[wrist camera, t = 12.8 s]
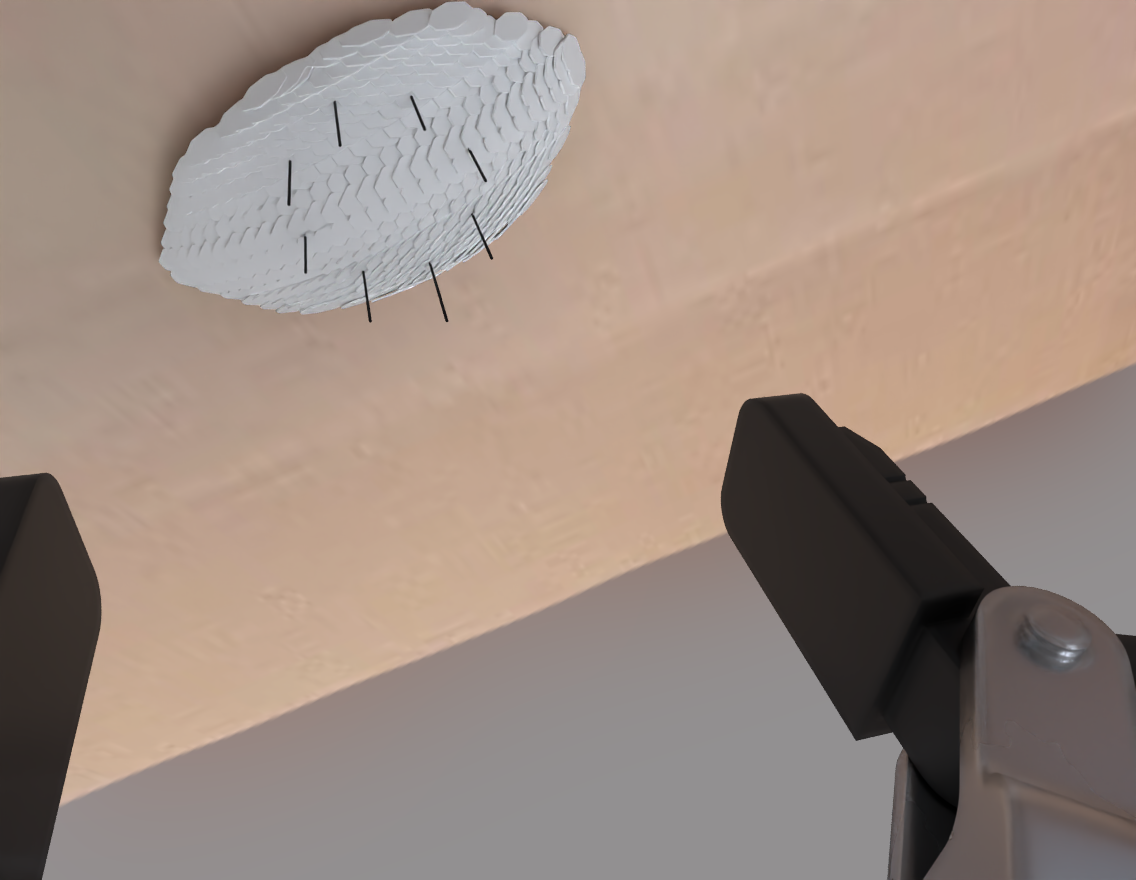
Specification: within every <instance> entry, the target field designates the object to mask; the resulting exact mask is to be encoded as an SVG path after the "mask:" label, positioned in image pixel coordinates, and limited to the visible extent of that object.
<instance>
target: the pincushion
mask: <svg viewBox="0 0 1136 880" xmlns="http://www.w3.org/2000/svg"><path fill="white" fill-rule="evenodd" d="M585 78H586V72H585V60H584V57H583V54H582V52H581V51H580V46H579V43H578V41H577V38H576V37H574V36H573V35H571V34H567V35H566V37H564V35H563V33H562V32H561V30H560V29H558V28H555V27H551V26H548V27H547V28H545V29H544V30H543V27H542V26H541V25H540V24H539V23H538V22H537V21H535V20H527V17H526V16H524V15H523V14H522V13H521V12H505V13H504V14H503V15H502V16H501V17H500V18H499V19H497V20H495V19H494V18H493V17H492V16H491V15H487V13H485V12H484V11H483V10H482V9H480V8H472V7H471V6H470V5H468V4H467V3H466V2H465V1H461V2H446V3H444V4H442V5H441V6H439V7H437V8H436V9H434V10H431V9H429V8H428V9H420V10H413V11H409V12H407V13H405V14H403V15H401V16H400V17H398V18H396V19H394V21H392V20H391V19H379V20H370V21H368V22H365V23H363V24H360V25H358V26H355V27H353V28H351V29H350V30H349V31H348V32H345V33H343V34H341V35H338V36H336V37H334V38H332V39H331V40H330V41H329V42H327V43H325V44H322V45H320V46H318V47H317V48H316V49H315V50H314V51H313V52H312V53H311V54H310V55H308V56H307V57H305V58H302V59H299V60H296V61H293V62H292V63H290V64H288V65H284V66H283V67H282V68H281V69H279V70H278V71H277V72H274V73H270V74H266V75H265V76H263V77H262V78H261V79H260V80H258V81H257V82H256V83H254V84H253V85H252V86H251V87H249V89H248V90H247V92H246V94H245V95H244V97H243V99H241V100H239V101H238V102H237V103H236V104H234V105H233V106H232V107H231V108H230V109H229V110H227V111H226V112H225V113H224V114H223V116H222V119H221V121H220V123H219V124H217V125H216V126H215V127H212V128H206V129H205V130H203V131H202V132H201V133H200V134H199V135H197V136H196V137H195V138H194V139H193V140H192V141H191V142H190V145H189V147H188V150H187V152H186V154H185V155H184V156H183V157H181V158H180V159H179V161H178V163H177V165H176V167H175V169H174V171H173V173H172V176H173V178H174V179H173V182H172V184H171V186H170V189H169V190H170V192H171V194H172V195H171V197H170V199H169V202H168V204H167V209H168V212H167V215H166V217H165V220H164V222H163V224H164V225H165V227H166V230H165V233H164V235H163V238H162V241H161V244H162V246H163V247H164V249H163V250H162V253H161V256H160V259H159V263H160V264H161V265H162V266H163V267H164V268H165V270H169V271H172V272H171V274H170V275H171V277H172V278H173V279H174V280H175V281H176V282H177V283H179V284H183V285H187V286H190V287H194V288H195V287H197V288H198V289H199V290H200V291H201V292H208V293H214V294H220V295H221V296H222V297H224V298H227V299H240V300H241V302H242V303H243V304H245V305H260V307H261V308H262V309H277V310H276V312H278V313H288V312H296V311H300V313H301V314H312V313H320V312H324V311H328V310H332V309H336V308H338V307H341V308H342V309H345V308H348V307H352V306H356V305H359V304H362V303H364V302H366V304H367V311H368V318H369V322H372V320H371V313H370V306H369V301H370V300H372V302H375V301H378V300H381V299H383V298H386V297H389V296H391V295H394V294H397V293H399V292H402V291H404V290H407V289H410V288H412V287H415V286H416V285H417V284H420V283H422V282H424V281H427V280H429V279H432V278H433V280H434V283H435V287H436V290H437V294H438V297H439V300H440V304H441V307H442V311H443V314H444V317H445V321H446V322H448V318H447V314H446V311H445V308H444V304H443V301H442V298H441V294H440V291H439V288H438V284H437V281H436V278H435V277H436V276H438V275H440V274H441V273H442V272H444V271H445V270H446V269H447V270H446V271H448V270H450V269H451V268H453V267H454V266H455V265H457V264H458V263H460V262H461V261H463V263H464V262H465V261H467V260H468V259H470V258H471V257H473V256H474V255H476V254H477V253H478V252H480V251H481V250H482V249H484V248H486V250H487V252H488V254H489V257H490V259H491V260H492V259H493V257H492V254H491V252H490V250H489V248H488V245H489V244H490V243H491V242H492V241H494V240H495V239H496V240H497V239H498V238H499V237H500V236H501V235H502V234H503V233H504V232H505V231H506V230H507V229H508V228H509V227H510V226H511V224H512V223H513V222H514V221H515V220H516V219H517V218H518V217H519V215H522V214H523V213H524V212H525V211H526V210H527V209H528V208H529V207H530V206H531V204H532V203H533V202H534V201H535V199H536V198H537V197H538V195H539V194H540V192H541V191H542V190H543V188H544V187H545V185H546V184H547V181H548V179H546V180H545V178H546V177H547V175H548V174H549V172H550V170H551V168H552V166H553V165H550V163H551V162H552V160H553V159H554V158H555V157H556V155H557V154H558V153H559V151H560V150H561V148H562V146H563V144H564V142H565V140H566V138H567V136H568V134H569V132H570V128H571V126H568V125H569V123H570V120H571V117H572V115H573V113H574V111H575V108H576V106H577V104H578V102H579V96H580V91H581V86H582V84H583V82H584V80H585ZM549 165H550V166H549ZM544 180H545V181H544ZM543 181H544V182H543ZM507 223H508V224H507ZM506 224H507V225H506ZM505 225H506V226H505ZM504 226H505V227H504ZM503 227H504V228H503ZM502 228H503V229H502ZM501 229H502V230H501ZM500 230H501V232H500V233H498V232H499V231H500ZM494 232H495V233H494ZM493 233H494V234H493ZM492 234H493V235H492ZM491 235H492V236H491ZM490 236H491V237H490ZM489 237H490V238H489ZM488 238H489V239H488ZM487 239H488V240H487ZM486 240H487V241H486ZM440 270H441V271H440ZM438 271H440V272H439V273H437V272H438ZM435 273H437V274H435ZM426 277H427V278H426ZM397 289H398V290H397ZM395 290H396V291H395ZM392 291H395V292H393V293H390V292H392ZM388 293H390V294H388ZM385 294H388V295H385ZM383 295H385V296H383ZM380 296H383V297H380ZM378 297H380V298H378ZM375 298H378V299H375ZM373 299H375V300H373Z"/></svg>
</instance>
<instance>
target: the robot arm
mask: <svg viewBox="0 0 1136 880" xmlns="http://www.w3.org/2000/svg"><path fill="white" fill-rule="evenodd" d="M721 509H722V515H723V520H724V523H725V526H726V529H727V531H728V534H729V536H730V537H731V539H732V541H733V542H734V544H735V546H736V547H737V549H738V550H739V552H740V553H741V555H742V557H743V559H744V560H745V562H746V563H747V565H748V567H749V568H750V570H751V571H752V573H753V575H754V576H755V578H756V579H757V581H758V582H759V584H760V586H761V587H762V589H763V591H764V593H765V594H766V596H767V597H768V599H769V601H770V602H771V604H772V605H773V607H774V609H775V610H776V612H777V614H778V615H779V617H780V618H781V620H782V622H783V623H784V625H785V627H786V628H787V630H788V631H789V633H790V634H791V636H792V638H793V639H794V641H795V643H796V644H797V646H798V647H799V649H800V651H801V652H802V654H803V656H804V657H805V659H806V661H807V662H808V664H809V665H810V667H811V669H812V670H813V671H814V673H815V675H816V677H817V678H818V680H819V681H820V683H821V685H822V686H823V688H824V690H825V691H826V693H827V694H828V696H829V698H830V699H831V701H832V703H833V704H834V706H835V707H836V709H837V711H838V712H839V714H840V716H841V717H842V719H843V720H844V722H845V724H846V725H847V727H848V728H849V730H850V732H851V733H852V735H853V737H854V738H855V740H856V741H857V740H861V739H866V738H870V737H875V736H879V735H883V734H888V733H892V732H893V733H894V735H895V736H896V738H897V739H898V741H899V742H900V744H901V745H902V747H903V750H902V751H901V754H900V756H899V758H898V760H897V764H896V772H895V785H894V799H893V812H892V824H891V838H890V852H889V864H888V878H887V880H1136V636H1131V635H1121V634H1115V633H1114V632H1113V631H1112V630H1111V629H1110V628H1109V627H1108V626H1107V625H1106V624H1105V623H1104V622H1103V621H1102V620H1100V619H1099V618H1098V617H1097V616H1096V615H1094V614H1093V613H1091V612H1090V611H1088V610H1087V609H1085V608H1084V607H1083V606H1081V605H1079V604H1077V603H1075V602H1073V601H1072V600H1070V599H1067V598H1065V597H1063V596H1060V595H1058V594H1055V593H1052V592H1050V591H1047V590H1042V589H1038V588H1034V587H1026V586H1010V585H1009V584H1008V583H1007V582H1006V581H1005V580H1004V578H1002V576H1001V575H1000V574H999V573H998V572H997V571H996V570H995V569H994V568H993V567H992V566H991V565H990V564H989V563H988V562H987V560H986V559H985V558H984V557H983V556H982V555H981V554H980V553H979V552H978V551H977V550H976V549H975V548H974V547H973V546H972V545H971V544H970V542H969V541H968V540H967V539H966V538H965V537H964V536H963V535H962V534H961V533H960V532H959V531H958V530H957V529H956V528H955V527H954V526H953V524H952V523H951V522H950V521H949V520H948V519H947V518H946V517H945V516H944V515H943V514H942V513H941V512H940V511H939V510H938V509H937V508H936V506H935V505H934V504H933V503H927V501H926V496H925V495H924V494H923V493H922V492H921V491H920V490H919V489H918V487H917V486H916V485H915V484H914V483H913V482H912V481H911V480H909V481H907V480H906V478H905V474H904V473H903V472H902V471H901V470H900V469H899V467H898V466H896V464H895V463H894V462H893V461H892V460H891V459H890V458H889V457H888V456H887V455H886V454H885V453H884V451H883V450H882V449H881V448H879V447H878V446H876V445H874V444H873V443H871V442H869V441H868V440H866V439H864V438H863V437H861V436H859V435H858V434H856V433H855V432H853V431H851V430H850V429H848V428H846V427H845V426H844V427H837V425H836V424H835V423H834V422H833V421H832V420H831V419H830V418H829V417H828V415H827V414H826V413H825V412H824V411H823V410H822V409H821V408H820V407H819V406H818V404H817V403H816V402H815V401H814V400H813V399H812V398H811V397H810V396H808V395H806V394H803V393H800V394H790V395H781V396H771V397H762V398H753V399H749V400H747V401H745V402H744V404H743V405H742V407H741V409H740V412H739V415H738V419H737V424H736V428H735V432H734V437H733V441H732V446H731V450H730V454H729V459H728V463H727V468H726V472H725V477H724V481H723V485H722V491H721ZM100 625H101V596H100V589H99V584H98V580H97V576H96V573H95V570H94V568H93V565H92V563H91V560H90V558H89V556H88V553H87V551H86V548H85V546H84V543H83V541H82V538H81V536H80V533H79V531H78V528H77V526H76V524H75V521H74V519H73V516H72V514H71V511H70V509H69V506H68V504H67V501H66V499H65V496H64V494H63V492H62V489H61V487H60V485H59V483H58V482H57V480H56V479H55V478H54V477H53V476H52V475H51V474H49V473H40V474H31V475H22V476H12V477H3V478H0V880H42V876H43V872H44V867H45V863H46V859H47V854H48V850H49V846H50V842H51V837H52V833H53V829H54V824H55V820H56V816H57V812H58V807H59V803H60V799H61V794H62V790H63V786H64V782H65V777H66V773H67V769H68V764H69V760H70V756H71V752H72V747H73V743H74V739H75V734H76V730H77V726H78V722H79V717H80V713H81V709H82V704H83V700H84V696H85V692H86V687H87V683H88V679H89V674H90V670H91V666H92V662H93V657H94V653H95V649H96V645H97V640H98V636H99V631H100Z"/></svg>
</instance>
